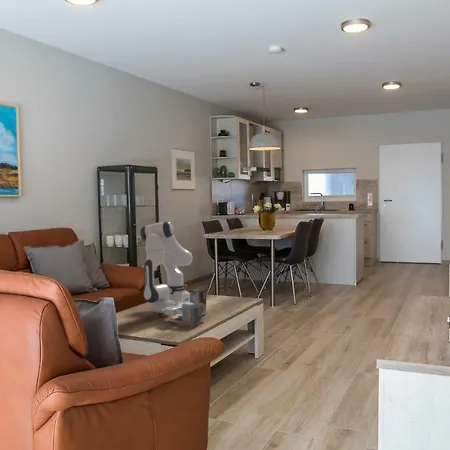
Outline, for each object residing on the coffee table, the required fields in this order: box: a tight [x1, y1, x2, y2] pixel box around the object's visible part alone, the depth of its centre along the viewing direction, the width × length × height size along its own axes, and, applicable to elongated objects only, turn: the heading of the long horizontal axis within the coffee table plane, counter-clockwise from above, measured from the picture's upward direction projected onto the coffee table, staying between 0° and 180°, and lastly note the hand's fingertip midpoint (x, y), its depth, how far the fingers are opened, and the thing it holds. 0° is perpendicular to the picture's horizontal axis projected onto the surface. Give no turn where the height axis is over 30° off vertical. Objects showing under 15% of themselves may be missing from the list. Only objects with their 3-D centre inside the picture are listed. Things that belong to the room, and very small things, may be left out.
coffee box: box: [189, 288, 207, 316], centre depth 330 cm, size 9×6×16 cm
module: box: [181, 302, 195, 322], centre depth 308 cm, size 5×6×12 cm
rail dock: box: [165, 306, 204, 329], centre depth 310 cm, size 14×18×11 cm
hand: (188, 310), depth 308 cm, fingers open, 8 cm apart
